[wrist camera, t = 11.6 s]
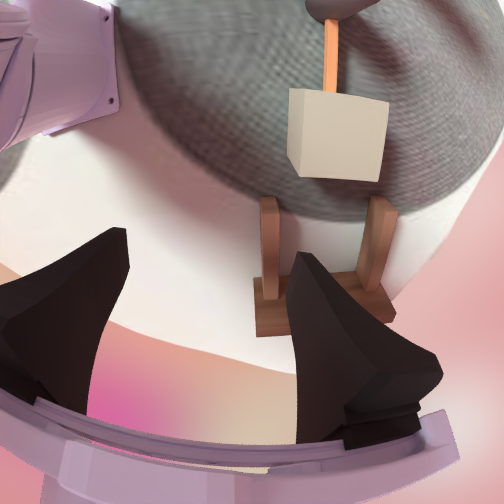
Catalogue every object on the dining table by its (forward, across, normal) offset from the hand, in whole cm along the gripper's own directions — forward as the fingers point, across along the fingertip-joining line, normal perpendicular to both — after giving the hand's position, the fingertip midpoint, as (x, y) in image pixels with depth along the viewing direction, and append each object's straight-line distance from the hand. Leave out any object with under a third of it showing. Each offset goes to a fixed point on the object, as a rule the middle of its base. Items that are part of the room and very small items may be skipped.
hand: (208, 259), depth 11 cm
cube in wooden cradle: (+10, -9, +4) cm, 14 cm away
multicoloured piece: (+10, -6, -10) cm, 15 cm away
